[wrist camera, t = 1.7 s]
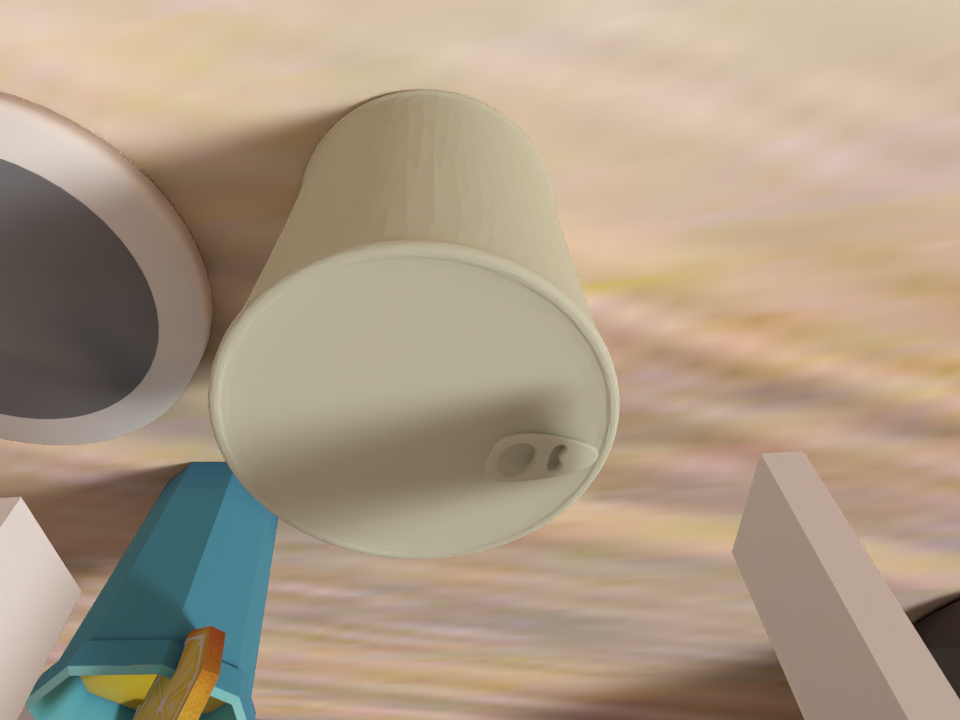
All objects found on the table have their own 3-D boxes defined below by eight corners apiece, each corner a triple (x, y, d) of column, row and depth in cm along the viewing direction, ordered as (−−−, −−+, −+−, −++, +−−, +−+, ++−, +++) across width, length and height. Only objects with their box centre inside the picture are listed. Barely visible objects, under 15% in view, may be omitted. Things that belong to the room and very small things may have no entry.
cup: (263, 608, 37) (173, 960, 25) (116, 576, 35) (-60, 944, 23) (340, 435, 30) (267, 810, 18) (162, 381, 28) (-58, 765, 16)
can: (517, 345, 28) (556, 595, 18) (291, 305, 26) (197, 555, 16) (589, 123, 23) (698, 305, 13) (313, 58, 21) (195, 206, 11)
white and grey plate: (249, 413, 29) (240, 437, 28) (-74, 430, 29) (-99, 455, 28) (145, 71, 21) (125, 83, 20) (-305, 91, 21) (-356, 105, 20)
